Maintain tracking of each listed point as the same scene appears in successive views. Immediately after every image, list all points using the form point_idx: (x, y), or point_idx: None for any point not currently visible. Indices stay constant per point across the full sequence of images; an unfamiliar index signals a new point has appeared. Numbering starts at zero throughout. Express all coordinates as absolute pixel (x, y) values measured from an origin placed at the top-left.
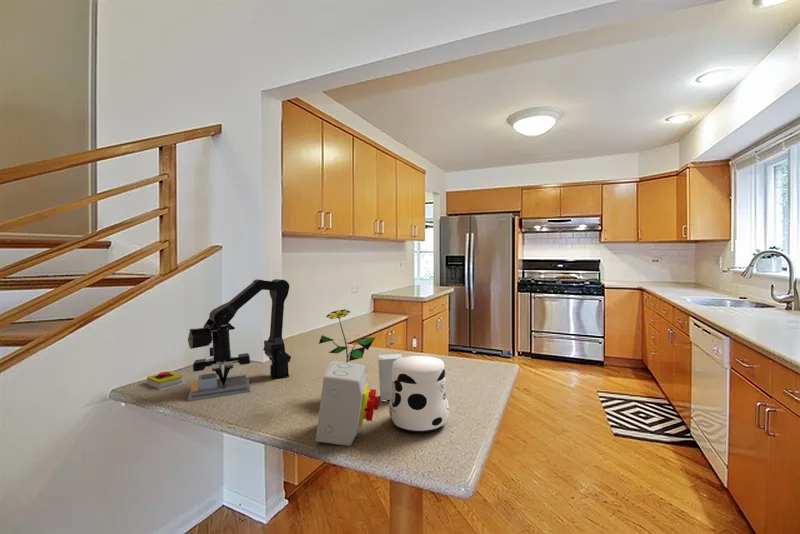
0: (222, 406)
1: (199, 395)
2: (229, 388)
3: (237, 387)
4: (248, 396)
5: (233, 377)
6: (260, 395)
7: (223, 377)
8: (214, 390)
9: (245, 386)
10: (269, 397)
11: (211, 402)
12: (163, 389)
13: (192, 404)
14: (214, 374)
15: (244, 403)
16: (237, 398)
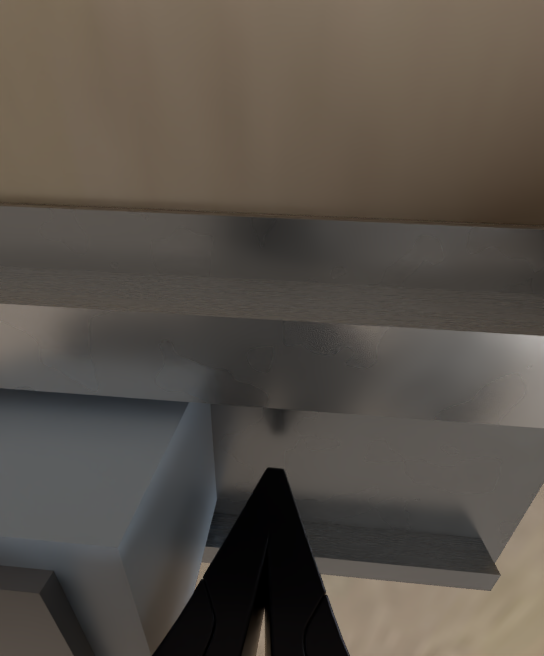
0: (263, 631)
1: None
2: (323, 566)
3: (395, 573)
4: (430, 595)
5: (437, 413)
6: (506, 613)
7: (265, 649)
8: None
9: (470, 578)
10: (535, 649)
11: (198, 574)
12: None
13: None
14: (87, 598)
15: (378, 648)
16: (357, 591)
